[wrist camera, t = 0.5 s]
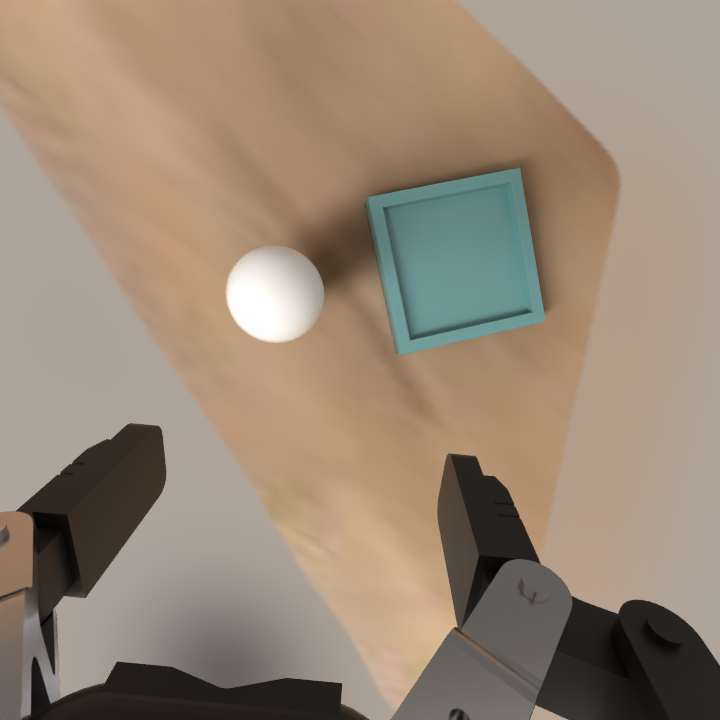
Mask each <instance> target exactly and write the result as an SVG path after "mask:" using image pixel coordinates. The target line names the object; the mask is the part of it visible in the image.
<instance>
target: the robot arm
mask: <svg viewBox="0 0 720 720" xmlns="http://www.w3.org/2000/svg"><path fill="white" fill-rule="evenodd" d="M165 481H166V465H165V455H164V445H163V436H162V430H161V428H160V427H159V426H154V425H144V424H132V423H131V424H128V425H126V426H125V427H124V428H123V429H122V430H121V431H120V432H119V433H117V434H116V435H115V436H114V437H113V438H112V439H111V440H107V439H106V440H104V441H102V442H100V443H98V444H96V445H94V446H92V447H91V448H88V449H87V450H85V452H83V453H82V454H81V455H80V456H79V457H78V458H76V459H75V460H74V461H73V463H72V464H70V465H68V466H67V467H66V468H65V469H64V470H62V471H61V474H60V475H57V476H56V477H54V478H53V479H52V480H51V481H50V482H49V483H48V484H46V485H45V486H44V487H43V488H42V489H41V490H40V491H38V492H37V493H36V494H35V495H34V496H33V497H31V498H30V499H29V500H28V501H27V502H26V503H25V504H23V505H22V506H21V507H20V508H19V509H18V510H16V511H15V512H14V511H12V512H11V511H10V512H1V513H0V720H369V719H367V718H366V717H365V716H364V715H362V714H360V713H359V712H357V711H355V710H354V709H352V708H350V707H347V706H345V705H343V704H341V692H342V683H333V682H323V681H312V680H302V679H292V678H284V679H279V680H273V681H268V682H262V683H257V684H251V685H246V686H241V687H235V688H227V689H226V688H220V687H217V686H215V685H213V684H211V683H208V682H206V681H204V680H201V679H199V678H197V677H194V676H192V675H190V674H187V673H185V672H183V671H180V670H178V669H176V668H173V667H167V666H157V665H146V664H136V663H125V662H117V663H116V665H115V666H114V668H113V670H112V671H111V673H110V675H109V677H108V679H107V681H106V682H105V683H102V684H98V685H94V686H91V687H88V688H84V689H82V690H79V691H77V692H74V693H72V694H69V695H67V696H65V697H63V698H61V692H60V675H59V652H58V628H57V614H56V610H55V606H56V605H57V604H58V603H59V601H60V600H61V599H62V597H63V596H69V597H80V598H86V597H87V595H88V594H89V592H90V591H91V590H92V588H93V587H94V585H95V584H96V583H97V581H98V580H99V579H100V577H101V576H102V575H103V573H104V572H105V570H106V569H107V568H108V566H109V565H110V564H111V562H112V561H113V559H114V558H115V557H116V555H117V554H118V553H119V551H120V550H121V548H122V547H123V546H124V544H125V543H126V541H127V540H128V539H129V537H130V536H131V535H132V533H133V532H134V530H135V529H136V528H137V526H138V525H139V524H140V522H141V521H142V520H143V518H144V517H145V515H146V514H147V513H148V511H149V510H150V509H151V507H152V506H153V504H154V503H155V502H156V500H157V499H158V498H159V496H160V494H161V493H162V491H163V488H164V485H165ZM519 517H520V516H519V514H518V512H517V509H516V507H514V503H513V500H512V498H511V496H510V494H509V491H508V489H507V488H506V487H505V486H504V485H503V484H502V483H501V482H500V481H499V480H498V479H497V478H496V477H495V476H485V475H483V473H482V470H481V468H480V465H479V462H478V460H477V458H476V456H469V455H458V454H448V455H447V457H446V461H445V466H444V472H443V477H442V482H441V488H440V493H439V498H438V524H439V529H440V535H441V540H442V545H443V551H444V556H445V561H446V567H447V572H448V578H449V583H450V588H451V594H452V599H453V604H454V610H455V615H456V620H457V626H458V628H457V627H455V628H453V629H452V630H451V631H450V632H449V634H448V635H447V637H446V638H445V639H444V641H443V642H442V644H441V645H440V647H439V648H438V650H437V651H436V653H435V654H434V656H433V657H432V659H431V660H430V662H429V663H428V665H427V666H426V668H425V669H424V671H423V672H422V674H421V675H420V677H419V678H418V680H417V681H416V683H415V684H414V686H413V687H412V689H411V690H410V692H409V693H408V695H407V696H406V698H405V699H404V701H403V702H402V704H401V705H400V707H399V708H398V710H397V711H396V713H395V714H394V716H393V717H392V719H391V720H530V718H531V715H532V713H533V710H534V707H535V705H537V706H539V707H542V708H544V709H546V710H548V711H550V712H553V713H555V714H557V715H559V716H561V717H564V718H566V719H568V720H720V665H719V664H718V663H717V661H716V660H715V658H714V657H713V655H712V654H711V652H710V651H709V649H708V648H707V646H706V645H705V643H704V642H703V641H702V639H701V638H700V636H699V635H698V634H697V632H695V630H694V629H693V628H692V627H691V626H690V625H689V624H688V623H686V622H685V621H684V620H683V619H681V618H680V617H679V616H678V615H676V614H675V613H673V612H671V611H669V610H668V609H666V608H664V607H662V606H660V605H658V604H655V603H652V602H649V601H644V600H631V601H627V602H626V603H624V604H623V605H622V607H621V608H620V610H619V613H618V614H616V613H614V612H611V611H608V610H605V609H602V608H600V607H596V606H594V605H591V604H589V603H586V602H583V601H581V600H579V599H577V598H575V597H573V596H571V593H570V591H569V589H568V587H567V586H566V584H565V583H564V582H563V581H562V579H561V578H560V577H559V576H558V575H557V574H555V573H554V572H553V571H551V570H550V569H548V568H547V567H545V566H543V565H541V563H540V561H539V559H538V556H537V554H536V552H535V550H534V547H533V545H532V543H531V541H530V538H529V536H528V534H527V532H526V529H525V527H524V525H523V523H522V520H521V519H520V518H519Z"/></svg>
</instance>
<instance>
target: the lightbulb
mask: <svg viewBox="0 0 720 720" xmlns="http://www.w3.org/2000/svg"><path fill="white" fill-rule="evenodd" d="M226 300H227V305H228V308H229V311H230V313H231V315H232V317H233V319H234V320H235V322H236V323H237V324H238V325H239V326H240V327H241V328H242V329H243V330H244V331H245V332H246V333H248V334H249V335H251V336H252V337H254V338H257V339H259V340H262V341H266V342H272V343H282V342H288V341H291V340H294V339H297V338H299V337H301V336H302V335H304V334H305V333H307V332H308V331H309V330H310V329H311V328H312V327H313V326H314V324H315V323H316V322H317V320H318V318H319V316H320V314H321V312H322V309H323V305H324V286H323V282H322V279H321V276H320V274H319V272H318V270H317V268H316V267H315V266H314V264H313V263H312V262H311V261H310V260H309V259H308V258H307V257H306V256H304V255H303V254H302V253H300V252H298V251H297V250H294V249H292V248H289V247H286V246H281V245H266V246H261V247H258V248H255V249H253V250H251V251H249V252H248V253H246V254H245V255H243V256H242V257H241V258H240V259H239V260H238V261H237V262H236V264H235V265H234V267H233V268H232V270H231V272H230V274H229V277H228V280H227V285H226Z"/></svg>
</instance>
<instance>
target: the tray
mask: <svg viewBox="0 0 720 720" xmlns="http://www.w3.org/2000/svg"><path fill="white" fill-rule="evenodd" d="M365 207H366V211H367V216H368V221H369V226H370V231H371V235H372V240H373V245H374V250H375V254H376V259H377V264H378V269H379V274H380V278H381V283H382V288H383V293H384V297H385V302H386V307H387V312H388V317H389V321H390V326H391V331H392V336H393V341H394V345H395V350H396V353H397V354H400V355H403V354H407V353H411V352H416V351H420V350H424V349H429V348H433V347H437V346H442V345H446V344H450V343H455V342H459V341H463V340H467V339H472V338H476V337H480V336H485V335H489V334H493V333H498V332H502V331H506V330H511V329H515V328H519V327H524V326H528V325H532V324H537V323H541V322H545V315H544V309H543V303H542V297H541V291H540V285H539V279H538V273H537V267H536V261H535V255H534V249H533V243H532V237H531V231H530V225H529V219H528V213H527V207H526V201H525V195H524V189H523V183H522V177H521V171H520V168H515V169H510V170H505V171H500V172H495V173H490V174H484V175H479V176H474V177H469V178H464V179H459V180H453V181H448V182H443V183H438V184H433V185H428V186H422V187H417V188H412V189H407V190H402V191H397V192H391V193H386V194H381V195H376V196H371V197H368V198H367V201H366V203H365Z"/></svg>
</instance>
